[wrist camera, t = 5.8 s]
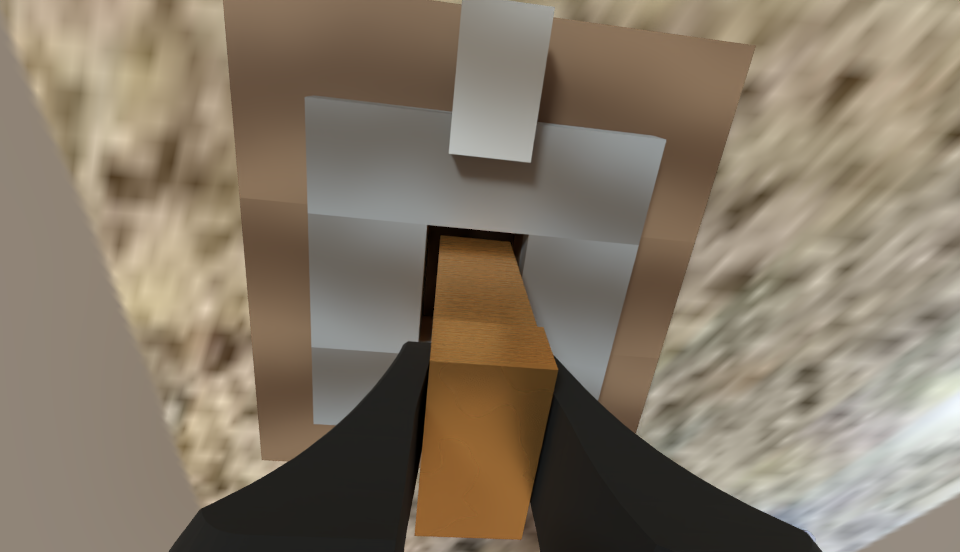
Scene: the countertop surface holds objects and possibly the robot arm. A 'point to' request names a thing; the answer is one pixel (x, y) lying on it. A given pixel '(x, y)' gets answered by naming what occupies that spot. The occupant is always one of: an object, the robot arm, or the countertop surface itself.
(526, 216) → the brown grey stepped board
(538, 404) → the notched wooden block
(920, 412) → the countertop surface
